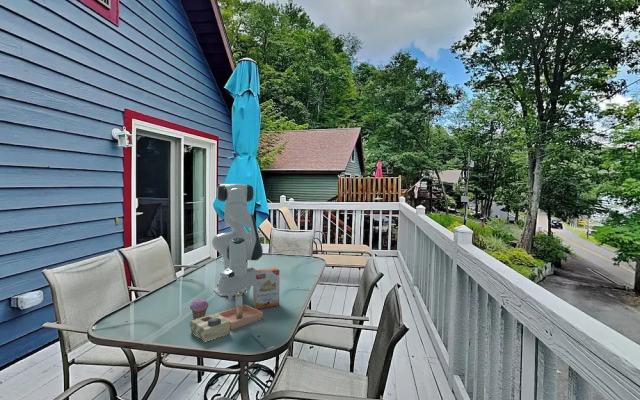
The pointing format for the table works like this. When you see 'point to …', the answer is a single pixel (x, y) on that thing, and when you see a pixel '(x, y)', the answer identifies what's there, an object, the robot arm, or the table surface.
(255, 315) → the tray
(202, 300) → the cupcake
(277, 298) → the cracker box
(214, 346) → the table surface
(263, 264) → the table surface
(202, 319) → the block
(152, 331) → the table surface
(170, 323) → the table surface
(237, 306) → the pin
